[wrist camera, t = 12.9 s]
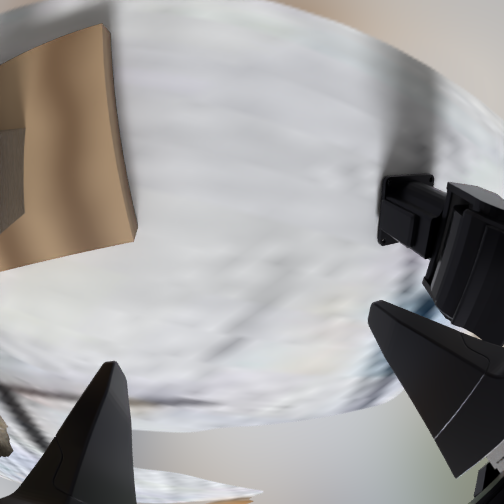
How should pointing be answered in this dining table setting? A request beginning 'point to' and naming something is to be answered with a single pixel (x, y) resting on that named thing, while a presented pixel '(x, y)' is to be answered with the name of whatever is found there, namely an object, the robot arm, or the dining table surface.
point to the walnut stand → (66, 150)
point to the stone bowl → (4, 440)
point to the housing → (11, 176)
